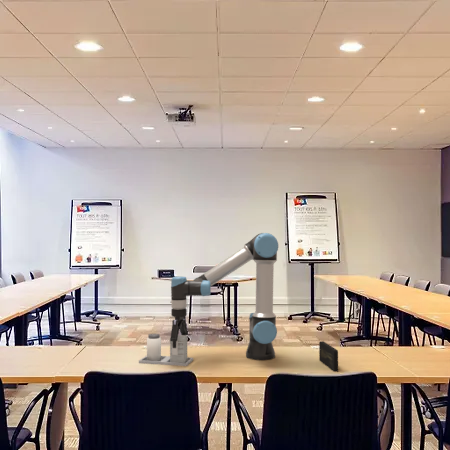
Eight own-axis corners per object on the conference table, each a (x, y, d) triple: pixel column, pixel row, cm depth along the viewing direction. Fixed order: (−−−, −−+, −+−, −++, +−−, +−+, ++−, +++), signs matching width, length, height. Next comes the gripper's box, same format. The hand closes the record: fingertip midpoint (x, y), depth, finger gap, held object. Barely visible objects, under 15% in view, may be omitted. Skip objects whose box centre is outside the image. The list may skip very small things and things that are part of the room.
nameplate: (338, 371, 239) (338, 350, 239) (334, 372, 238) (334, 350, 238) (322, 360, 259) (322, 340, 259) (319, 360, 259) (319, 341, 259)
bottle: (162, 359, 256) (163, 333, 257) (158, 362, 250) (158, 336, 250) (149, 358, 258) (149, 332, 258) (144, 362, 251) (144, 335, 251)
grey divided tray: (193, 362, 255) (193, 357, 255) (186, 368, 244) (186, 363, 244) (147, 359, 261) (147, 355, 261) (138, 365, 249) (138, 360, 249)
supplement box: (173, 360, 255) (173, 334, 255) (187, 360, 254) (187, 335, 254) (169, 364, 248) (169, 338, 248) (184, 364, 246) (184, 338, 247)
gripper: (179, 304, 264) (179, 345, 264) (163, 311, 240) (163, 357, 240) (193, 304, 262) (193, 345, 262) (178, 312, 238) (178, 357, 238)
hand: (179, 351), depth 251 cm, fingers open, 13 cm apart
